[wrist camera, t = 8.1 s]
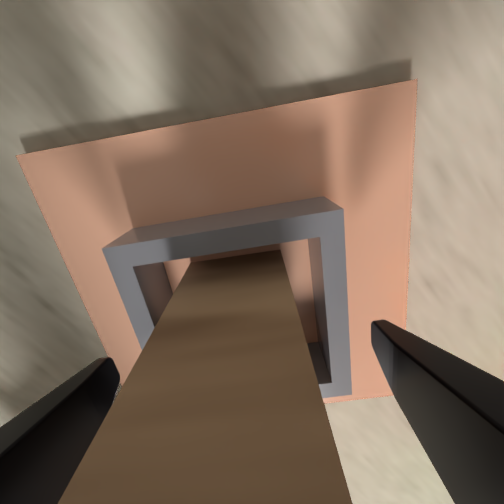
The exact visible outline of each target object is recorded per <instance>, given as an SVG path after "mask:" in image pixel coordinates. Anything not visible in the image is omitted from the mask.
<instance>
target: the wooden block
mask: <svg viewBox="0 0 504 504" xmlns="http://www.w3.org/2000/svg"><path fill="white" fill-rule="evenodd" d="M58 504H352V501H351V497H350V494H349V490H348V487H347V483H346V480H345V476H344V473H343V469H342V466H341V462H340V458H339V455H338V451H337V448H336V444H335V441H334V437H333V434H332V430H331V427H330V423H329V420H328V416H327V412H326V409H325V405H324V402H323V398H322V395H321V391H320V388H319V384H318V381H317V377H316V374H315V370H314V366H313V363H312V359H311V356H310V352H309V349H308V345H307V342H306V338H305V335H304V331H303V328H302V324H301V320H300V317H299V313H298V310H297V306H296V303H295V299H294V296H293V292H292V289H291V285H290V282H289V278H288V274H287V271H286V267H285V264H284V260H283V257H282V253H281V250H273V251H266V252H259V253H253V254H246V255H239V256H232V257H225V258H219V259H212V260H205V261H198V262H191V263H190V264H189V266H188V268H187V270H186V272H185V274H184V275H183V277H182V279H181V281H180V283H179V284H178V286H177V288H176V290H175V292H174V294H173V295H172V297H171V299H170V301H169V303H168V304H167V306H166V308H165V310H164V312H163V313H162V315H161V317H160V319H159V321H158V323H157V324H156V326H155V328H154V330H153V332H152V333H151V335H150V337H149V339H148V341H147V343H146V344H145V346H144V348H143V350H142V352H141V353H140V355H139V357H138V359H137V361H136V362H135V364H134V366H133V368H132V370H131V372H130V373H129V375H128V377H127V379H126V381H125V382H124V384H123V386H122V388H121V390H120V392H119V393H118V395H117V397H116V399H115V401H114V402H113V404H112V406H111V408H110V410H109V411H108V413H107V415H106V417H105V419H104V421H103V422H102V424H101V426H100V428H99V430H98V431H97V433H96V435H95V437H94V439H93V441H92V442H91V444H90V446H89V448H88V450H87V451H86V453H85V455H84V457H83V459H82V460H81V462H80V464H79V466H78V468H77V470H76V471H75V473H74V475H73V477H72V479H71V480H70V482H69V484H68V486H67V488H66V489H65V491H64V493H63V495H62V497H61V499H60V500H59V502H58Z"/></svg>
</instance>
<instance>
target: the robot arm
mask: <svg viewBox="0 0 504 504" xmlns="http://www.w3.org/2000/svg"><path fill="white" fill-rule="evenodd" d="M371 344H372V348H373V350H374V352H375V355H376V357H377V359H378V361H379V364H380V366H381V368H382V371H383V373H384V375H385V378H386V380H387V382H388V384H389V387H390V389H391V391H392V393H393V395H394V397H395V399H396V400H397V402H398V404H399V406H400V408H401V409H402V411H403V413H404V415H405V416H406V418H407V420H408V422H409V423H410V425H411V427H412V429H413V430H414V432H415V434H416V436H417V438H418V439H419V441H420V443H421V445H422V446H423V448H424V450H425V452H426V453H427V455H428V457H429V459H430V460H431V462H432V464H433V466H434V467H435V469H436V471H437V473H438V475H439V476H440V478H441V480H442V482H443V483H444V485H445V487H446V489H447V490H448V492H449V494H450V496H451V497H452V499H453V501H454V503H455V504H504V381H503V380H501V379H499V378H497V377H495V376H493V375H491V374H489V373H487V372H485V371H483V370H481V369H479V368H477V367H476V366H474V365H472V364H470V363H468V362H466V361H464V360H462V359H460V358H458V357H456V356H454V355H452V354H451V353H449V352H447V351H445V350H443V349H441V348H439V347H437V346H435V345H433V344H431V343H429V342H427V341H425V340H424V339H422V338H420V337H418V336H416V335H414V334H412V333H410V332H408V331H406V330H404V329H402V328H400V327H398V326H397V325H395V324H393V323H391V322H389V321H387V320H384V319H382V320H375V321H372V322H371ZM119 382H120V374H119V371H118V369H117V367H116V365H115V363H114V360H113V359H112V358H111V357H105V358H99V359H97V360H96V361H94V362H93V363H91V364H90V365H88V366H87V367H86V368H84V369H83V370H81V371H80V372H78V373H77V374H76V375H74V376H73V377H71V378H70V379H69V380H67V381H66V382H64V383H63V384H61V385H60V386H59V387H57V388H56V389H54V390H53V391H51V392H50V393H49V394H47V395H46V396H44V397H43V398H41V399H40V400H39V401H37V402H36V403H34V404H33V405H32V406H30V407H29V408H27V409H26V410H24V411H23V412H22V413H20V414H19V415H17V416H16V417H14V418H13V419H12V420H10V421H9V422H7V423H6V424H4V425H3V426H2V427H0V504H58V502H59V500H60V499H61V497H62V495H63V493H64V491H65V489H66V488H67V486H68V484H69V482H70V480H71V479H72V477H73V475H74V473H75V471H76V470H77V468H78V466H79V464H80V462H81V460H82V459H83V457H84V455H85V453H86V451H87V450H88V448H89V446H90V444H91V442H92V441H93V439H94V437H95V435H96V433H97V431H98V430H99V428H100V426H101V424H102V422H103V421H104V419H105V417H106V415H107V413H108V411H109V410H110V408H111V406H112V404H113V401H114V398H115V395H116V392H117V389H118V386H119Z"/></svg>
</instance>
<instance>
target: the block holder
mask: <svg viewBox="0 0 504 504" xmlns="http://www.w3.org/2000/svg"><path fill="white" fill-rule="evenodd" d="M416 100H417V79H414V80H409V81H404V82H398V83H393V84H388V85H383V86H377V87H372V88H367V89H362V90H356V91H351V92H346V93H341V94H335V95H330V96H325V97H320V98H314V99H309V100H304V101H299V102H294V103H288V104H283V105H278V106H273V107H267V108H262V109H257V110H252V111H246V112H241V113H236V114H231V115H225V116H220V117H215V118H210V119H204V120H199V121H194V122H189V123H183V124H178V125H173V126H168V127H162V128H157V129H152V130H147V131H142V132H136V133H131V134H126V135H121V136H115V137H110V138H105V139H100V140H94V141H89V142H84V143H79V144H73V145H68V146H63V147H58V148H52V149H47V150H42V151H37V152H31V153H26V154H21V155H16V158H17V160H18V162H19V164H20V166H21V169H22V171H23V173H24V175H25V177H26V179H27V182H28V184H29V186H30V188H31V190H32V192H33V195H34V197H35V199H36V201H37V203H38V205H39V208H40V210H41V212H42V214H43V216H44V218H45V221H46V223H47V225H48V227H49V229H50V232H51V234H52V236H53V238H54V240H55V242H56V245H57V247H58V249H59V251H60V253H61V255H62V258H63V260H64V262H65V264H66V266H67V268H68V271H69V273H70V275H71V277H72V279H73V281H74V284H75V286H76V288H77V290H78V292H79V295H80V297H81V299H82V301H83V303H84V305H85V308H86V310H87V312H88V314H89V316H90V318H91V321H92V323H93V325H94V327H95V329H96V331H97V334H98V336H99V338H100V340H101V342H102V344H103V347H104V349H105V351H106V353H107V355H108V357H111V358H112V359H113V360H114V363H115V365H116V367H117V369H118V371H119V374H120V384H121V386H123V384H124V382H125V381H126V379H127V377H128V375H129V373H130V372H131V370H132V368H133V366H134V364H135V362H136V361H137V359H138V357H139V355H140V353H141V352H142V350H143V348H144V346H145V344H146V343H147V341H148V339H149V337H150V335H151V333H152V332H153V330H154V328H155V326H156V324H157V323H158V321H159V319H160V317H161V315H162V313H163V312H164V310H165V308H166V306H167V304H168V303H169V301H170V299H171V297H172V295H173V294H174V292H175V290H176V288H177V286H178V284H179V283H180V281H181V279H182V277H183V275H184V274H185V272H186V270H187V268H188V266H189V264H190V263H191V262H198V261H205V260H212V259H219V258H225V257H232V256H239V255H246V254H253V253H259V252H266V251H273V250H281V253H282V257H283V260H284V264H285V267H286V271H287V274H288V278H289V282H290V285H291V289H292V292H293V296H294V299H295V303H296V306H297V310H298V313H299V317H300V320H301V324H302V328H303V331H304V335H305V338H306V342H307V345H308V349H309V352H310V356H311V359H312V363H313V366H314V370H315V374H316V377H317V381H318V384H319V388H320V391H321V395H322V398H323V402H324V403H333V402H341V401H350V400H358V399H366V398H375V397H383V396H391V395H393V393H392V391H391V389H390V387H389V384H388V382H387V380H386V378H385V375H384V373H383V371H382V368H381V366H380V364H379V361H378V359H377V357H376V355H375V352H374V350H373V348H372V344H371V322H372V321H375V320H382V319H384V320H387V321H389V322H391V323H393V324H395V325H397V326H398V327H400V328H402V329H404V330H406V312H407V291H408V269H409V248H410V227H411V206H412V184H413V163H414V142H415V121H416Z"/></svg>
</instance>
